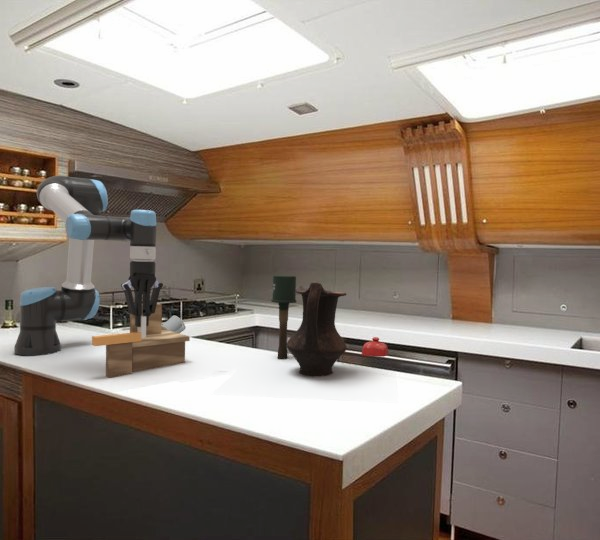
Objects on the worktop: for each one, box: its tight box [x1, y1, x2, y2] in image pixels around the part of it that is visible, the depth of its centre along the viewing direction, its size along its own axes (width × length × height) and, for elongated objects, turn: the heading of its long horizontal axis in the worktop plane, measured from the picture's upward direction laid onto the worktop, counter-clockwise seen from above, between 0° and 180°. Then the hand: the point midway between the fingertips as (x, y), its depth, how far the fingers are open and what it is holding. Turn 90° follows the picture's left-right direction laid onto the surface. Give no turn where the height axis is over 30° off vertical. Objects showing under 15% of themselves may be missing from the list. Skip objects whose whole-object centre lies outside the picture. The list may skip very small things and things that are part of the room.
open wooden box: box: [105, 341, 186, 379], centre depth 161 cm, size 16×26×10 cm, turn 133°
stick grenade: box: [270, 274, 297, 360], centre depth 171 cm, size 8×9×30 cm
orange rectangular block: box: [91, 332, 142, 347], centre depth 149 cm, size 2×14×2 cm, turn 133°
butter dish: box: [361, 336, 389, 358], centre depth 180 cm, size 12×12×8 cm
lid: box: [129, 302, 190, 348], centre depth 164 cm, size 16×20×12 cm
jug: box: [287, 281, 347, 378], centre depth 151 cm, size 21×18×30 cm
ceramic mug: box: [162, 315, 187, 334], centre depth 210 cm, size 11×8×8 cm
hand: (141, 337), depth 154 cm, fingers closed
